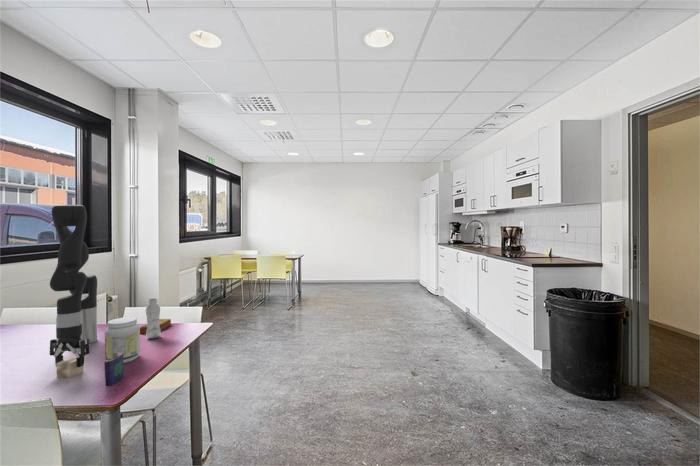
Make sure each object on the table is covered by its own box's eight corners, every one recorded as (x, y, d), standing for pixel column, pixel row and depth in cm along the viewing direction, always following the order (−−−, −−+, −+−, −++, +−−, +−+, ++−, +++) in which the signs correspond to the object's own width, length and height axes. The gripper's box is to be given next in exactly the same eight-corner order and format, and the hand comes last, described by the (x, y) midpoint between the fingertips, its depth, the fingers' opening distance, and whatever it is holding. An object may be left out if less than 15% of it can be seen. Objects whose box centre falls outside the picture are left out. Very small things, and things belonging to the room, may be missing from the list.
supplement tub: (110, 356, 141) (109, 318, 141) (142, 352, 146) (142, 315, 146) (100, 367, 130) (100, 325, 130) (136, 362, 134) (135, 322, 134)
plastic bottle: (154, 340, 161) (153, 300, 161) (142, 339, 163) (142, 300, 162) (164, 336, 168) (163, 298, 167) (152, 335, 169) (152, 297, 169)
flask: (118, 375, 122) (117, 347, 122) (126, 375, 122) (126, 347, 122) (103, 387, 113) (102, 357, 113) (112, 386, 113) (111, 356, 113)
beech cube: (56, 377, 121) (56, 363, 121) (70, 371, 126) (70, 357, 126) (70, 378, 121) (69, 363, 120) (83, 371, 126) (83, 357, 126)
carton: (171, 325, 188) (171, 318, 188) (155, 334, 172) (155, 326, 172) (156, 325, 188) (156, 318, 188) (139, 334, 172) (139, 326, 172)
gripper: (42, 326, 120) (42, 370, 120) (77, 327, 119) (77, 370, 119) (61, 321, 128) (62, 362, 128) (95, 321, 126) (95, 362, 126)
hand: (69, 366), depth 123 cm, fingers open, 8 cm apart
